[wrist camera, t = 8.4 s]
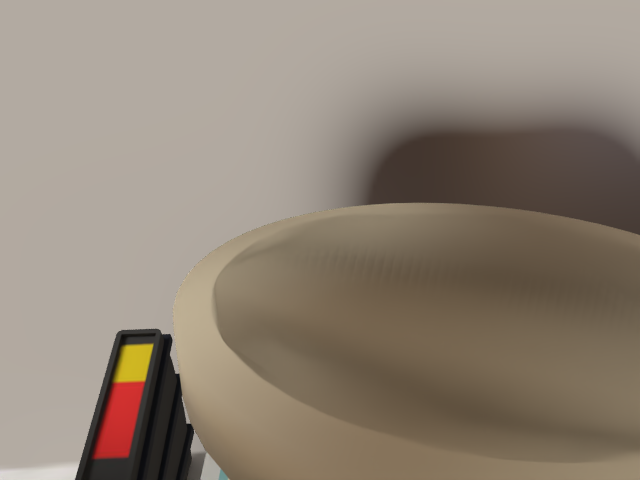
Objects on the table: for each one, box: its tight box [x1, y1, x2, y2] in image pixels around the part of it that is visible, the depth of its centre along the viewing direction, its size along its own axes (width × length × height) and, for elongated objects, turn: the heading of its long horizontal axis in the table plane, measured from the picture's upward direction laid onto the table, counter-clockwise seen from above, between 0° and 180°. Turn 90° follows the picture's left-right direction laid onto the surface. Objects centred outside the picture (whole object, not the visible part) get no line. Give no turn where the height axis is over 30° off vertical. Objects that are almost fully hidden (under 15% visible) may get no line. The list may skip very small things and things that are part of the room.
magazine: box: [75, 329, 194, 480], centre depth 36 cm, size 4×13×15 cm, turn 3°
